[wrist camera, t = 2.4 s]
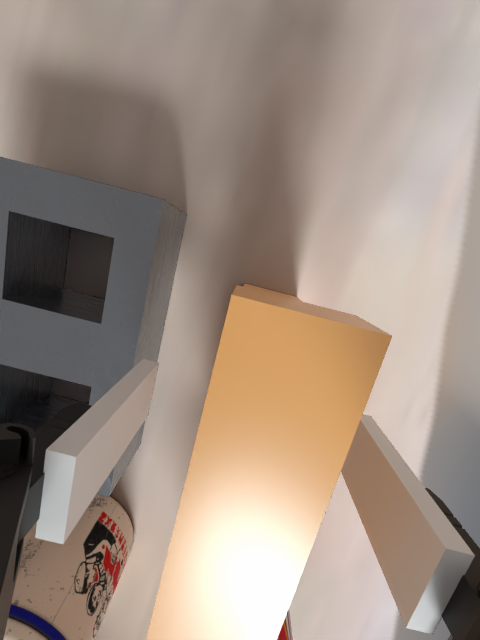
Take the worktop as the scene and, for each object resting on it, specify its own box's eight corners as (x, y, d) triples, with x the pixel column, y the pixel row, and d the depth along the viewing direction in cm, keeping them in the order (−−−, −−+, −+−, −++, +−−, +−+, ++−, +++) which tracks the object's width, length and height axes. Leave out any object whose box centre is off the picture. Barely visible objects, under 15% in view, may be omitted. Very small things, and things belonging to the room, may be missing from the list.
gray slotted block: (186, 214, 19) (163, 199, 14) (140, 444, 22) (109, 497, 17) (44, 177, 19) (-30, 148, 14) (20, 414, 22) (-45, 459, 17)
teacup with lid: (143, 573, 25) (53, 839, 14) (39, 571, 25) (-134, 828, 14) (127, 446, 22) (-1, 642, 11) (12, 447, 23) (-226, 636, 11)
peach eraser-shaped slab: (303, 285, 19) (392, 335, 7) (256, 442, 22) (262, 678, 10) (244, 270, 19) (231, 294, 7) (204, 429, 22) (143, 649, 10)
